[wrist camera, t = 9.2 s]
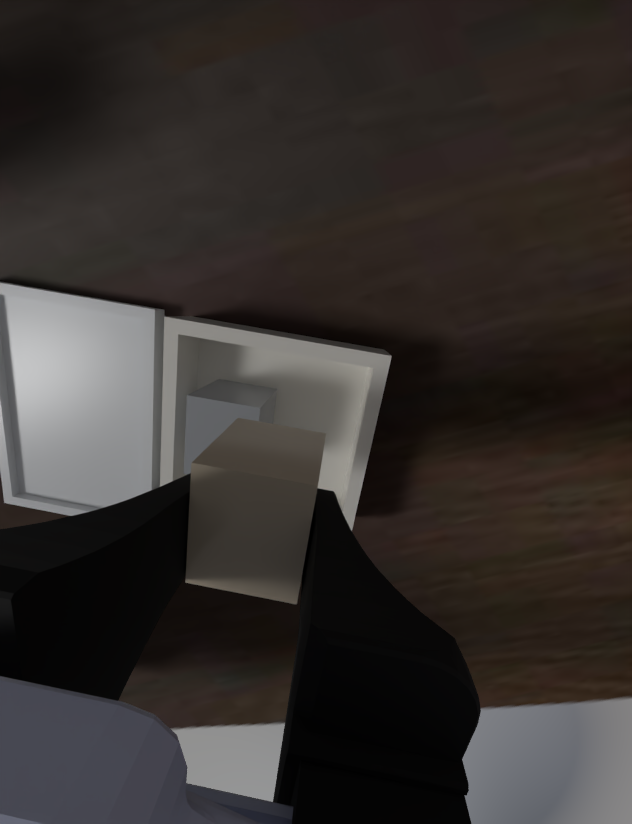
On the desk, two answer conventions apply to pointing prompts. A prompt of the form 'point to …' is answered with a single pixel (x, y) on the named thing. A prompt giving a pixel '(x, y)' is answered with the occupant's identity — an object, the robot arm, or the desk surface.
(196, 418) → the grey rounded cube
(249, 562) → the taupe rectangular block
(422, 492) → the desk surface
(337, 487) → the dish
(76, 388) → the parts tray
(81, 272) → the desk surface
